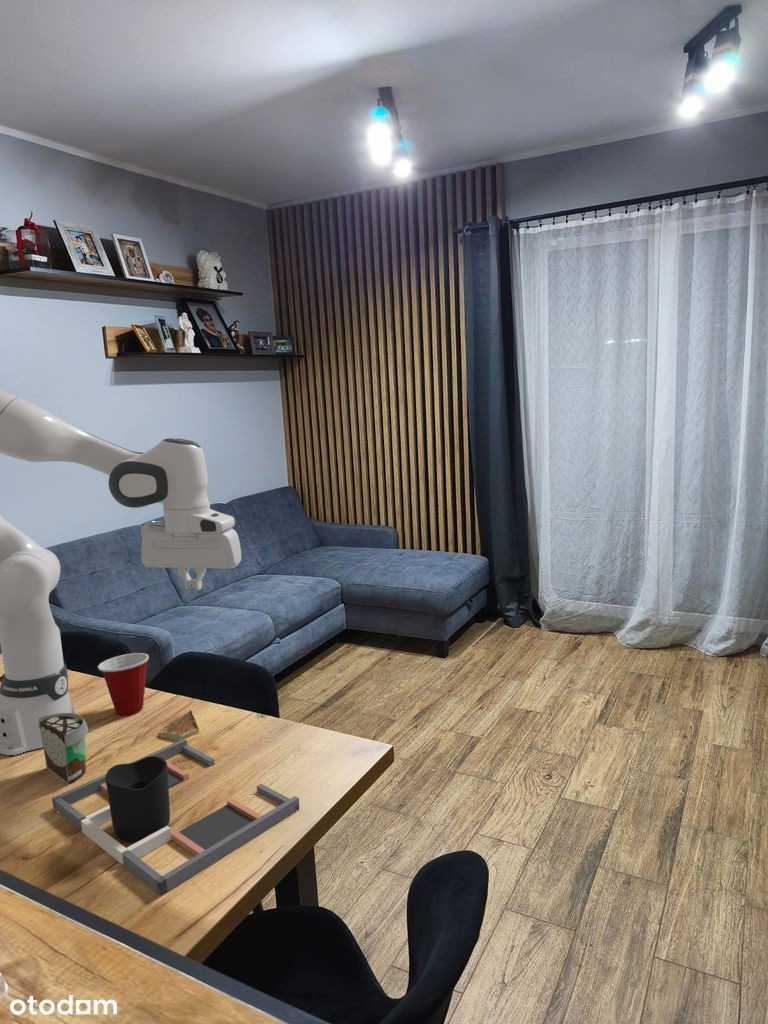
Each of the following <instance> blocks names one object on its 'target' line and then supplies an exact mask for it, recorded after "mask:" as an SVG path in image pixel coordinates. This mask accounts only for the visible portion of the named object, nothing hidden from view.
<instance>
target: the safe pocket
mask: <svg viewBox="0 0 768 1024" xmlns="http://www.w3.org/2000/svg"><path fill="white" fill-rule="evenodd" d="M110 820H111V821H112V818H111V811H110V805H109V804H108V805H107V806H104V807H103V808H100V809H98V810H96V811H94V812H92V813H90V814H88V815H85V819H83V820H81V827H82V830H81V832H82V833H83V834H84V835H85V836H86V837H87V838H88V839H90V840H91V841H93V842H94V843H95V844H96V845H98V846H99V848H101V849H102V850H104V851H105V852H106V853H107V854H109V855H110V856H111V857H113V858H114V859H115V860H116V861H117V862H118V863H120V864H121V865H122V866H125V865H124V856H123V854H125V853H126V852H128V851H130V852H132V853H133V854H134V855H136V856H137V857H138V858H139V859H141V858H142V857H143V856H146V855H147V854H149V853H151V852H153V851H155V850H156V849H159V848H160V847H162V846H164V845H165V844H166V843H168V842H170V841H173V840H172V836H171V832H172V827H170V826H169V825H168V826H166V827H164V828H162V829H160V830H159V831H157V832H155V833H153V834H151V835H149V836H148V837H146V838H144V839H142V840H140V841H138V842H135V843H132V844H131V845H129V846H128V847H125V846H124V845H123V844H121V843H120V842H119V841H118V840H116V839H115V838H114V837H112V836H111V835H110V834H108V833H107V832H106V831H104V830H103V829H102V828H100V827H99V826H100V825H103V824H105V823H107V822H109V821H110Z"/></svg>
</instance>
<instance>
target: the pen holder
mask: <svg viewBox="0 0 768 1024" xmlns="http://www.w3.org/2000/svg"><path fill="white" fill-rule="evenodd" d="M137 760H138V759H137ZM135 761H136V760H135ZM166 761H167V760H166ZM166 761H165V760H164V759H163V758H161V757H157V756H149V757H145V758H143V759H141V760H138V761H136V762H134V763H131V762H129V763H120V764H119V763H118V764H116V765H114V766H111V767H110V768H109V769H108V770H107V772H106V773H105V774H106V776H105V779H106V786H107V792H108V795H107V798H108V803H109V804H108V805H110V811H111V818H112V819H111V822H112V829H113V833H114V835H115V837H116V838H117V839H118V840H120V841H121V842H124V843H131V844H135V843H137V842H138V841H140V840H142V839H144V838H146V837H148V836H149V835H151V834H153V833H155V832H157V831H159V830H160V829H162V828H164V827H166V826H168V827H169V824H170V821H171V813H170V812H171V811H170V788H169V787H168V769H167V762H168V761H167V762H166Z"/></svg>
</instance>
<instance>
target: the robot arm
mask: <svg viewBox="0 0 768 1024" xmlns="http://www.w3.org/2000/svg"><path fill="white" fill-rule="evenodd" d="M203 450H204V449H203V448H202V446H201V445H199V443H197V442H196V441H194V440H189V439H183V438H164V439H162V440H161V441H160V442H159V443H158V444H157V445H155V446H154V447H152V448H150V449H148V450H147V451H145V452H139V451H138V452H137V451H132V450H130V449H126V448H124V447H122V446H119V445H117V444H115V443H111V442H109V441H107V440H105V439H102V438H100V437H98V436H95V435H93V434H90V433H88V432H85V431H84V430H82V429H80V428H78V427H76V426H74V425H73V424H70V423H69V422H67V421H66V420H63V419H61V418H60V417H58V416H56V415H54V414H53V413H51V412H50V411H48V410H46V409H44V408H43V407H40V406H38V405H36V404H35V403H32V402H31V401H29V400H27V399H24V398H22V397H20V396H17V395H15V394H13V393H10V392H7V391H4V390H2V389H0V454H3V455H6V456H8V457H12V458H14V459H17V460H22V461H26V462H31V463H43V462H45V463H46V462H65V463H66V462H67V463H74V464H78V465H82V466H85V467H88V468H90V469H92V470H95V471H97V472H100V473H103V474H105V475H107V476H108V477H109V478H108V489H109V493H110V494H111V495H112V498H113V499H114V500H115V501H116V502H117V503H118V504H120V505H122V506H124V507H125V508H126V507H127V508H133V509H139V508H146V507H148V506H150V505H153V504H157V503H159V504H162V508H163V519H164V520H156V521H155V520H148V521H146V522H145V523H144V524H142V526H141V528H140V533H141V534H140V535H141V536H140V537H141V540H142V541H141V563H142V564H143V565H144V567H146V568H166V569H167V568H173V569H174V568H175V569H176V568H177V573H178V575H179V576H180V578H181V579H182V581H183V582H184V589H185V590H197V591H198V590H201V589H202V588H203V581H202V580H203V578H204V576H205V574H206V572H207V569H234V568H236V567H238V566H239V565H240V563H241V561H242V550H241V543H240V538H239V535H238V534H239V533H237V531H236V530H235V529H233V528H234V527H235V524H236V521H235V517H234V516H233V515H229V514H226V513H222V512H220V511H217V510H214V509H211V505H210V501H209V498H208V495H207V493H208V492H207V491H208V484H209V477H208V469H207V463H206V458H205V454H204V451H203ZM190 569H194V573H195V574H196V576H195V577H196V578H192V577H191V576H190V573H189V571H190ZM61 570H62V569H61V564H60V560H59V558H58V557H57V555H56V554H55V553H53V552H52V551H51V550H49V549H48V548H45V547H42V545H39V544H38V543H37V542H35V541H34V540H33V539H32V538H30V537H29V536H28V535H26V534H24V533H23V532H22V531H20V530H19V529H18V528H16V527H15V526H14V525H12V524H11V523H10V522H9V521H7V519H5V517H3V516H2V515H0V648H1V657H2V663H3V671H4V673H2V674H1V676H0V683H1V684H0V754H2V755H6V756H9V755H14V756H18V755H21V754H23V752H24V753H26V751H27V752H29V751H32V750H37V749H42V748H43V743H42V737H41V731H40V728H39V726H38V721H39V719H38V718H40V717H44V716H47V715H52V714H58V713H74V714H76V712H75V710H74V707H73V704H72V700H71V696H70V692H69V689H68V688H69V676H68V668H67V664H66V663H65V661H64V655H63V647H62V639H61V630H60V628H59V627H58V625H57V623H56V622H55V618H54V617H53V613H52V610H51V607H50V601H49V599H50V598H49V597H50V593H51V592H52V591H53V590H54V589H55V588H56V587H57V585H58V583H59V580H60V577H61ZM20 753H21V754H20ZM17 754H18V755H17Z"/></svg>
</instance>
